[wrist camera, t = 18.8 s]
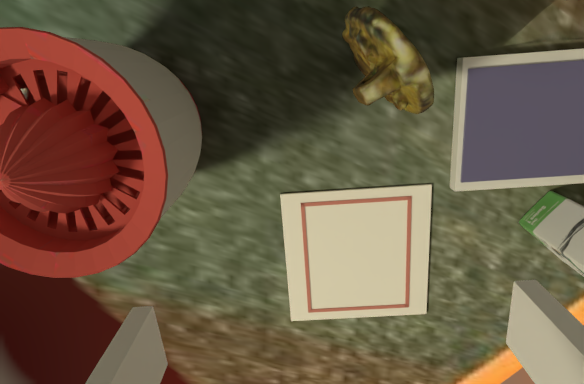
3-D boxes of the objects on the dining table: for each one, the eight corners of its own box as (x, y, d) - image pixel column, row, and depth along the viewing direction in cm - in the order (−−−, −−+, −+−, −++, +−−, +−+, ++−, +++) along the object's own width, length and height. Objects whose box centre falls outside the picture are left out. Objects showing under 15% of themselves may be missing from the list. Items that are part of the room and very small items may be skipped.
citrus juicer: (97, -8, 36) (-127, -86, 17) (250, 110, 39) (205, 156, 20) (23, 126, 40) (-226, 184, 21) (166, 223, 43) (64, 350, 24)
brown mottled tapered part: (407, 90, 38) (473, 106, 24) (370, 123, 39) (412, 158, 25) (345, 15, 36) (376, -16, 22) (307, 52, 37) (314, 45, 23)
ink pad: (457, 58, 37) (464, 57, 36) (607, 46, 37) (621, 45, 35) (449, 187, 41) (455, 192, 40) (584, 178, 41) (596, 183, 39)
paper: (280, 193, 42) (280, 194, 41) (430, 183, 41) (432, 185, 41) (291, 319, 47) (291, 321, 46) (425, 312, 46) (426, 314, 46)
